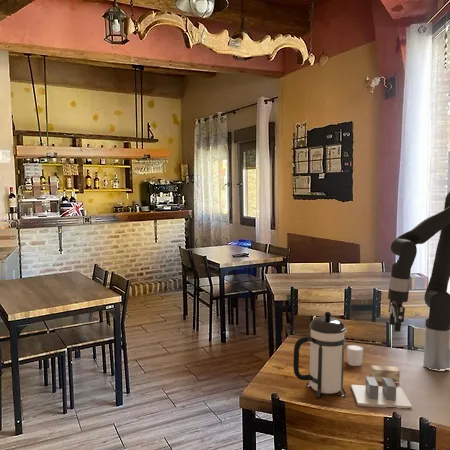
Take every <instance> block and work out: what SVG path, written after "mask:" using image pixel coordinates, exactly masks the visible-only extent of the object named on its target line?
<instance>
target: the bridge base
mask: <svg viewBox="0 0 450 450" xmlns="http://www.w3.org/2000/svg"><path fill="white" fill-rule="evenodd" d="M350 385H351V386H350V387H351V390H352V392H353V393H352V394H353V397H354V399H355V402H356V405H357V406H358V407H372V408H386V407H397V408H396V409H401V408H412V409H413V404H412V403H411V402H410V401H409V398H408V396H407V395H406V394H405V392H404V390H403V388H402V387H399V386H397V385H396V383H394V382H393V380H392V378H383V382H382V385H381V386H379V382H377V381H376V379H375V377H370V376H365V384H362V385H361V384H350Z"/></svg>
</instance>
